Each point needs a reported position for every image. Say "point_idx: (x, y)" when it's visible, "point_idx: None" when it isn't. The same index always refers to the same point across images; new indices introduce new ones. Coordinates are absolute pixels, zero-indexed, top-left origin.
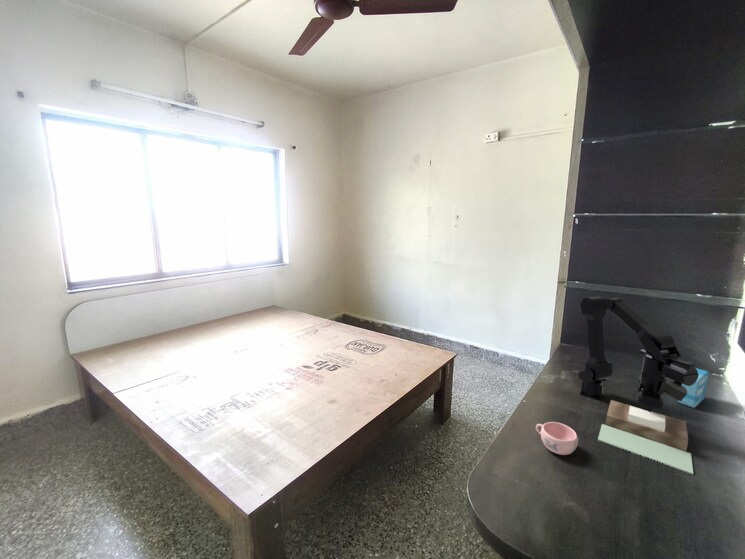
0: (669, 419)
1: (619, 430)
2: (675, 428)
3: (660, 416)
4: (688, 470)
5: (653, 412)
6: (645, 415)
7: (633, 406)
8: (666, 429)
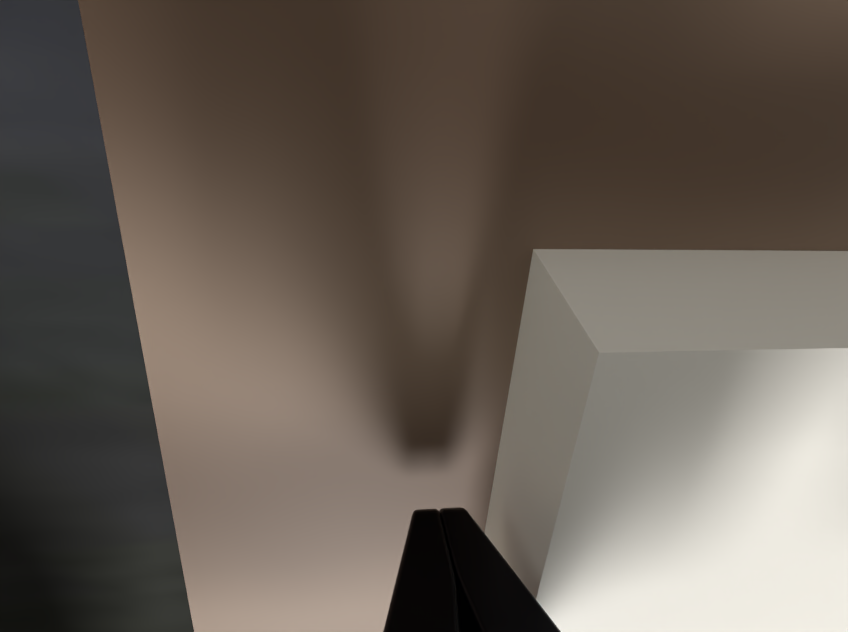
0: (269, 131)
1: None
2: (690, 37)
3: (686, 430)
4: None
5: (168, 405)
6: (760, 611)
7: (196, 626)
8: (802, 214)
